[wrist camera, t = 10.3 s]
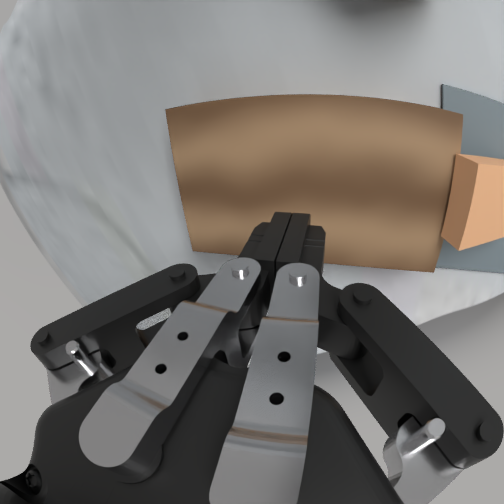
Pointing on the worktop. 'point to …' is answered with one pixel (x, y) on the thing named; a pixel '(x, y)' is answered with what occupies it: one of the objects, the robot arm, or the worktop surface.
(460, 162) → the orange tan rectangular block
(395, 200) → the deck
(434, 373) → the robot arm
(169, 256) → the worktop surface
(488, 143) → the mat
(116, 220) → the worktop surface
